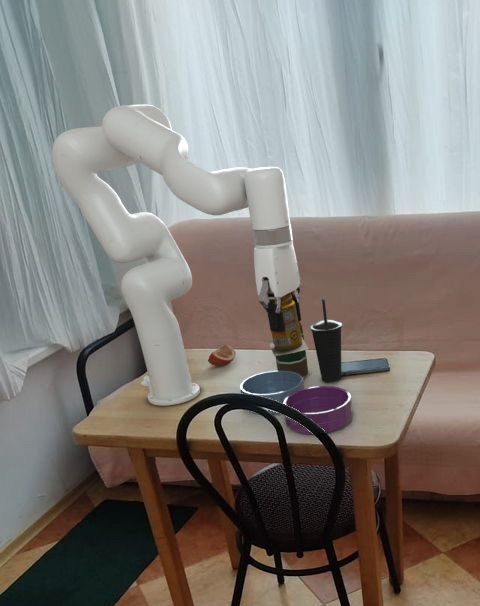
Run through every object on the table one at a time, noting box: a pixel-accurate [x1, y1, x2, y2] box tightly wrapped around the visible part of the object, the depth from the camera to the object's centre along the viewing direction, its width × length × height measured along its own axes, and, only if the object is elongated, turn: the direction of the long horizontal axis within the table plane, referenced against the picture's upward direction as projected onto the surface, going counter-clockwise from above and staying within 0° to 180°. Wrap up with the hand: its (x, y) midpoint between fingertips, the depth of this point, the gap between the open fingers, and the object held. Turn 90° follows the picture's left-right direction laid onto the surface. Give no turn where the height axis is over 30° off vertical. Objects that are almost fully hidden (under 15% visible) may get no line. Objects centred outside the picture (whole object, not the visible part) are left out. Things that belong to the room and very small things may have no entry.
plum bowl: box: [283, 385, 354, 436], centre depth 135 cm, size 14×14×5 cm
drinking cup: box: [309, 298, 343, 384], centre depth 152 cm, size 8×8×20 cm
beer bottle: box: [272, 321, 309, 379], centre depth 155 cm, size 8×8×24 cm
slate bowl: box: [239, 370, 305, 415], centre depth 146 cm, size 14×14×5 cm
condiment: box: [266, 292, 309, 357], centre depth 130 cm, size 7×8×12 cm
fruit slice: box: [207, 343, 236, 367], centre depth 170 cm, size 8×7×5 cm
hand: (286, 325), depth 132 cm, fingers closed on condiment, 6 cm apart
